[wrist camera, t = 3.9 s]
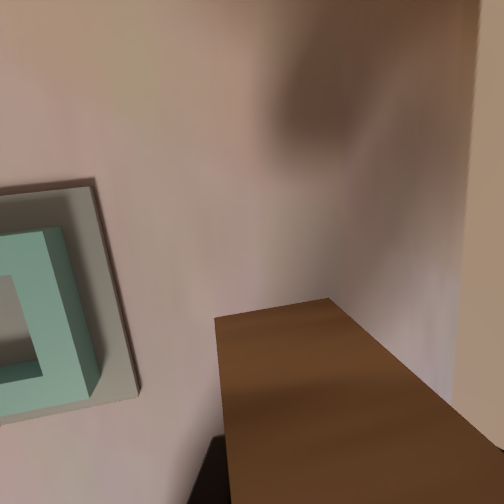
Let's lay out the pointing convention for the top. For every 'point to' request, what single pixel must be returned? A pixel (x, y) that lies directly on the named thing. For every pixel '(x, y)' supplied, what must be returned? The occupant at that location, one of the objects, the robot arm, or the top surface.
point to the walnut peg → (339, 418)
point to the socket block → (58, 308)
